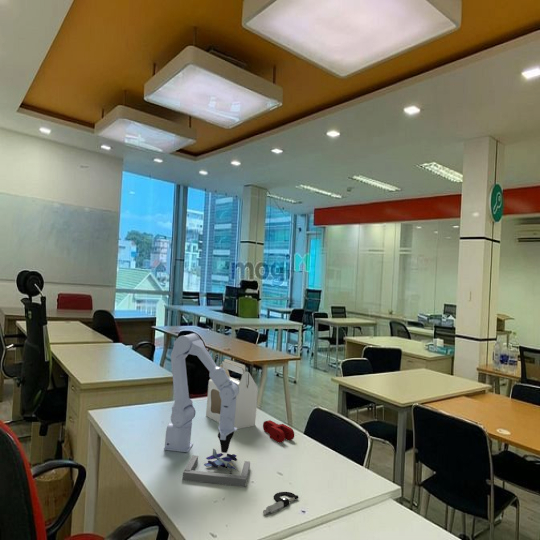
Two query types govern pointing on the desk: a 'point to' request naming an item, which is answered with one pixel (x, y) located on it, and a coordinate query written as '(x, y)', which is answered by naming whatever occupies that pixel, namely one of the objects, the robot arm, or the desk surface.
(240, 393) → the gable box
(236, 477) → the cradle
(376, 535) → the desk surface
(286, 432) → the mechanical linkage
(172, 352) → the robot arm
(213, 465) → the toy airplane
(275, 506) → the micrometer
